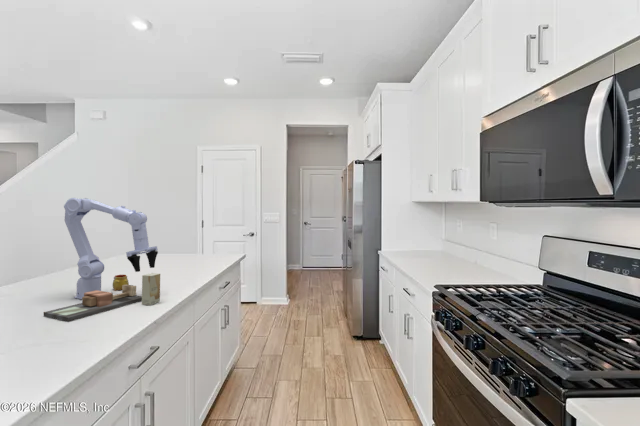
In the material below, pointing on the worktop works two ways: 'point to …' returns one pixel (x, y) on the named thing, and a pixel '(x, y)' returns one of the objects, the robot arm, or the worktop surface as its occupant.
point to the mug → (119, 282)
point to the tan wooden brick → (126, 291)
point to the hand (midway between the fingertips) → (145, 269)
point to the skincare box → (150, 288)
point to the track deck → (84, 311)
